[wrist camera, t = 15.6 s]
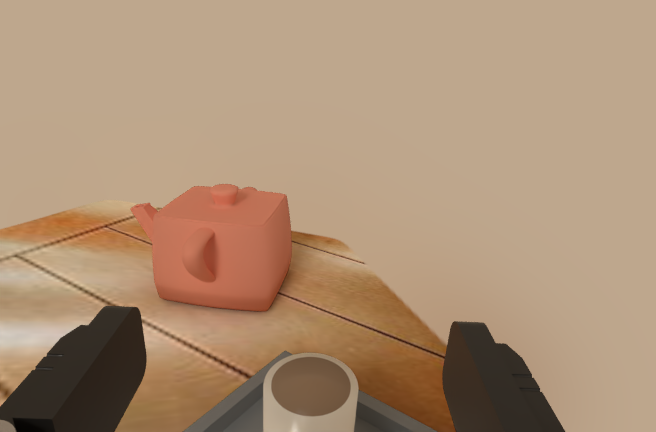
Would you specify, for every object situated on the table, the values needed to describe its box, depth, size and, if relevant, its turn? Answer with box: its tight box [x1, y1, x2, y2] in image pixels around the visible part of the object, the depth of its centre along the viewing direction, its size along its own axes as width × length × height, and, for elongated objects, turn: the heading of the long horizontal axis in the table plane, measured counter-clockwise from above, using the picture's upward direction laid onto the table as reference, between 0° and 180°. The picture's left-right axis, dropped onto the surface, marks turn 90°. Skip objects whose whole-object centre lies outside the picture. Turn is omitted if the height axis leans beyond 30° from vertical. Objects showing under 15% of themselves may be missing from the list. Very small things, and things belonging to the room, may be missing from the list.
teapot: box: [131, 184, 292, 311], centre depth 58 cm, size 20×22×14 cm
